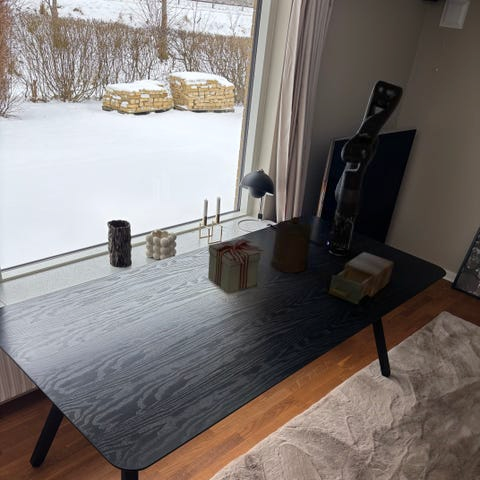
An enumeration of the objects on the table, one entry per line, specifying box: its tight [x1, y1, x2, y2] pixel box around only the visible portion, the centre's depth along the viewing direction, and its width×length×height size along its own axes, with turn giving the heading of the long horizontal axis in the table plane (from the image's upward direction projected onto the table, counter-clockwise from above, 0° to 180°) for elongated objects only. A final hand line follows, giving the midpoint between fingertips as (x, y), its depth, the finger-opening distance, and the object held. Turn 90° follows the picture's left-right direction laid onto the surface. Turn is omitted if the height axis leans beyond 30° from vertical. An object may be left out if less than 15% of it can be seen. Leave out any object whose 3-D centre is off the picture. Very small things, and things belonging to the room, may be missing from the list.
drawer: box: [328, 267, 374, 305], centre depth 189 cm, size 22×13×8 cm, turn 141°
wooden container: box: [271, 216, 312, 273], centre depth 207 cm, size 15×15×22 cm
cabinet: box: [343, 251, 395, 298], centre depth 200 cm, size 17×14×10 cm
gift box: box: [207, 238, 264, 294], centre depth 191 cm, size 17×18×17 cm
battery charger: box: [332, 221, 355, 250], centre depth 188 cm, size 7×4×11 cm, turn 49°
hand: (340, 241), depth 190 cm, fingers closed on battery charger, 4 cm apart
